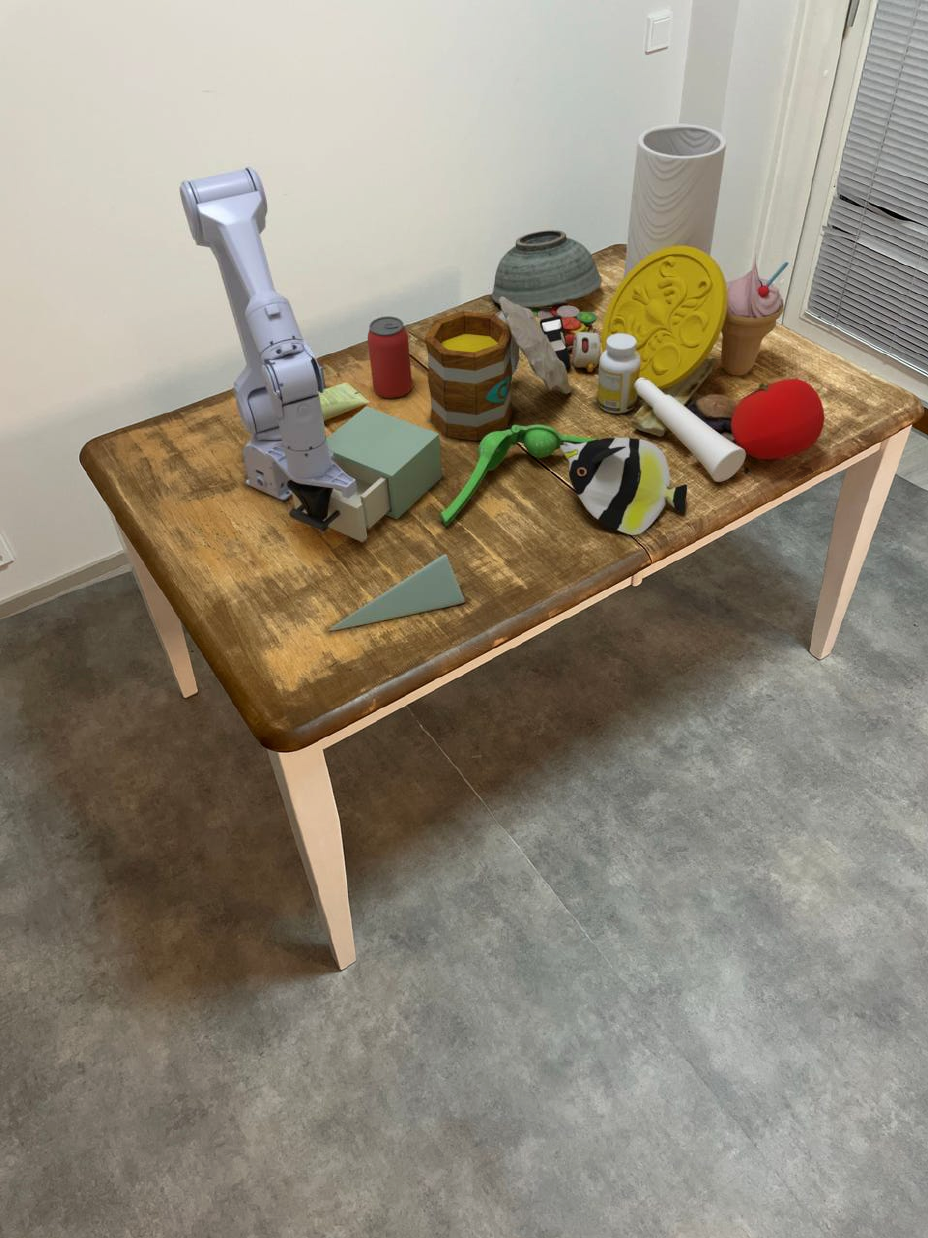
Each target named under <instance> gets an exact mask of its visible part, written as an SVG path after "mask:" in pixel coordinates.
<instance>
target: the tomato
mask: <svg viewBox="0 0 928 1238" xmlns="http://www.w3.org/2000/svg"><path fill="white" fill-rule="evenodd" d="M745 392H746V393H745ZM745 395H746V396H745ZM824 423H825V410H824V406H823V403H822V400H821V398H820V396H819V394H818V392H817V391H816V389H814V387H813V386H812V385H811V384H810V383H808V382H807V381H805V380H802V379H798V378H786V379H780V380H777V381H774V380H773V381H771V382H769V383H767V384H764V382H763V383H759V384H758V387H756V388H751V389H748V390H745V391H744V394H743V395H742V398H741V400H740V401H739V402H738V403H737V406H736V408H735V410H734V413H733V416H732V422H731V430H732V435H733V437H734V440H735V441H734V442H735V443H736V445H737V446H739V447H741V448H742V449H744V450H745V453H746V455H749V456H751V457H752V458H755V459H758V460H778V459H785V458H789V457H791V456H794V455H797V454H800V453H802V452H805V451H806V450H808V449H810V447H811V446H813V445H814V444H815V443H816V442H817V440H818V439H819V438H820V436H821V434H822V431H823V428H824V425H825V424H824Z"/></svg>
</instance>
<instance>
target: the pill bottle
mask: <svg viewBox="0 0 928 1238" xmlns="http://www.w3.org/2000/svg"><path fill="white" fill-rule="evenodd" d="M636 344H637V341H636V339H635V338H634V337H633V336H631V335H629V334H624V333H619V334H614V335H611V336H610V337H608V339H607V341H606V351H604V352H603V351H602V353H601V354H600V358H599V362H598V379H597V380H598V381H597V397H596V401H597V405H598V407H599V408H600V409H602V410H603V411H605V412H607V413H610V414H611V413H612V414H625V413H628V412H630V411H631V410H633V409H634V408H635V407H636V406H637V403H638V396H639V395H638V394H637V391H636V390H635V389H634V384H635V382H636V381H637V380H638V379H639V374H640V364H641V359H640V356H639V354H638V353H637V352H636Z"/></svg>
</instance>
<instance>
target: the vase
mask: <svg viewBox="0 0 928 1238" xmlns="http://www.w3.org/2000/svg"><path fill="white" fill-rule="evenodd" d="M726 149H727V139H726V137H725V136H724V135H723V133H720V132H719V131H718V130H716V129H713V128H711V127H707V126H703V125H699V124H691V123H668V124H662V125H661V124H660V125H656V126H653V127H649V128H648V129H646V130H644V131H643V132H641V133H640V134H639V135H638V138H637V145H636V155H635V162H634V163H635V165H634V171H633V184H632V193H631V203H630V213H629V222H628V233H627V243H626V250H625V252H626V253H625V260H624V261H625V263H624V271H623V279H624V278H625V277H626V275H627V274H628V273H629V272H630V271H631V270H632V269H633V268H634V267H635V266H636V265H637V264H638V263H639V262H641V261H642V260H643V259H645V258H646V257H648V256H649V255H651V254H653V253H654V252H657V251H659V250H661V249H664V248H667V247H672V246H690V247H694V248H696V249H699V250H701V251H703V252H704V253H706V254H707V255H709V256H710V257H711V252H712V245H713V238H714V232H715V224H716V218H717V210H718V204H719V198H720V190H721V184H722V177H723V170H724V169H723V168H724V162H725V155H726Z"/></svg>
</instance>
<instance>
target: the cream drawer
mask: <svg viewBox="0 0 928 1238" xmlns="http://www.w3.org/2000/svg"><path fill="white" fill-rule="evenodd" d="M332 461H333V462H335V463H336V464H337V465H338V466H339V467H340V468H341V469H342V470H343V471H344V472H345V473H346V474H347V475H348V476H350V477H351V478H353V479H355V480H356V485H357V492H356V493H355V494H353V495H352V496H351V497H350V498H345V497H343V495H342V492H340V491H338V490H336V489H334V488H333V491H332V493H331V497H330V501H329V507H328V516H327V518H326V519H324V520H323V521H322V520H320V519H317V518H315V517H313V516H310V515H308V514H307V512H306V510H305V508H304V506H303V505H302V503H301V502H300V500H299V499H298V498H297V496H296V495H295V494H294V493H293V492H292V495H291V496H292V500H293V505H294V507H293V508H291V509H290V511H289V513H288V516H289V518H291V519H293V520H296V521H298V522H299V523H301V524H304V525H306V526H309V527H311V528H313V529H315V530H317V531H320V532H322V533H325V532H327V530H328V529H332V530H335V531H336V532H339V533H341V534H343V535H345V536H348V537H349V538H352V539H354V540H356V541H358V542H361V543H363V542H364V541H365V540H367V538H368V533H367V532H368V531H367V529H368V530H370V529H371V528H372V527H373V526H374V525H375V524H376V523H377V522H378V521H379V520H381V519H382V518H383V517H384V516H386V515H385V514H386V513H387V512H388V511H389V510H390V509H391V499H390V491H389V482H388V478H386V477H383V476H381V475H378V474H376V473H374V472H371V471H369V470H366V469H364V468H361V467H359V466H357V465H354V464H352V463H349V462H347V461H345V460H342V459H340V458H337V457H335V456H334V458H333V459H332ZM289 480H290V478H289Z"/></svg>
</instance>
